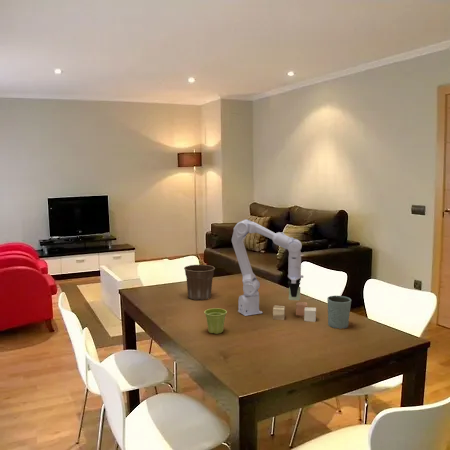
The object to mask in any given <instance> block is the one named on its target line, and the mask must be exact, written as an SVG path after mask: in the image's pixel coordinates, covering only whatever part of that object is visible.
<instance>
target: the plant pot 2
mask: <svg viewBox="0 0 450 450" xmlns="http://www.w3.org/2000/svg"><path fill="white" fill-rule="evenodd" d="M203 313H204V315H205V317H206V322H207V323H206V324H207V331H208V333H210V334H214V335H218V334H221V333H222V332H224V326H225V318H226V315H227V313H228V311H227V310H226V309H224V308H217V307H213V308H208V309H206V310H204V312H203Z"/></svg>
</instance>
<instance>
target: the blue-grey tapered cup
mask: <svg viewBox="0 0 450 450" xmlns="http://www.w3.org/2000/svg"><path fill="white" fill-rule="evenodd" d="M326 302H327V324H328V326H329V327H330V328H333V329H337V328H339V330H340V329H342V328H343V329H347V328H349V323H350V321H349V320H350V311H351V305H352V299H351V298H350V297H348V296H346V295H345V296H344V295H330V296H327V301H326Z"/></svg>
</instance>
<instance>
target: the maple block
mask: <svg viewBox="0 0 450 450" xmlns="http://www.w3.org/2000/svg"><path fill="white" fill-rule="evenodd" d="M285 317H286V306H285V305H273V307H272V320H279V321H280V320H283V321H285Z"/></svg>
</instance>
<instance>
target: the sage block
mask: <svg viewBox="0 0 450 450" xmlns="http://www.w3.org/2000/svg"><path fill="white" fill-rule="evenodd" d="M288 300H289V301H300V300H301V286H299V287H298V291H297V296H296V297H292V296H291V291H290V287H289V286H288Z"/></svg>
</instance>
